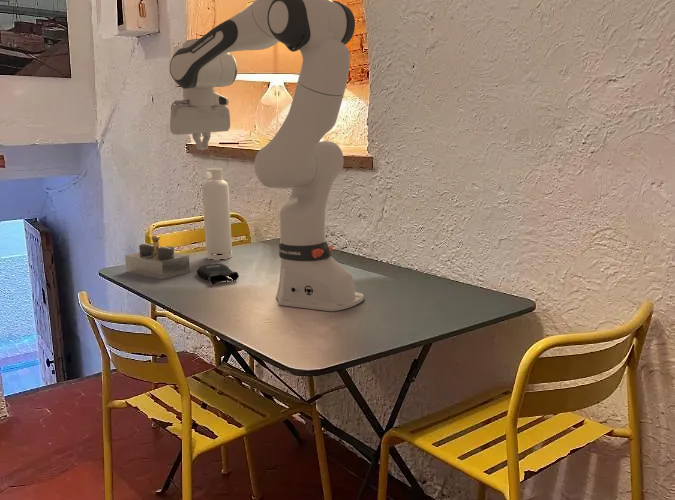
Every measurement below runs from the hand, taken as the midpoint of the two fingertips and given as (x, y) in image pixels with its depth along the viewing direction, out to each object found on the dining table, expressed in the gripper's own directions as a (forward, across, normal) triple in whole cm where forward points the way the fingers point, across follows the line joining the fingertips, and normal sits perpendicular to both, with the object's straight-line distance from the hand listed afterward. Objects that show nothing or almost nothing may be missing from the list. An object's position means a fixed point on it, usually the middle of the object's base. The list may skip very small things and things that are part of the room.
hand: (202, 149), depth 197 cm
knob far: (+35, -11, +14) cm, 39 cm away
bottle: (+35, +12, +8) cm, 38 cm away
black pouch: (+36, -6, -9) cm, 37 cm away
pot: (+30, -11, +10) cm, 34 cm away
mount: (+35, -11, +10) cm, 38 cm away
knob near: (+34, -11, +6) cm, 37 cm away
